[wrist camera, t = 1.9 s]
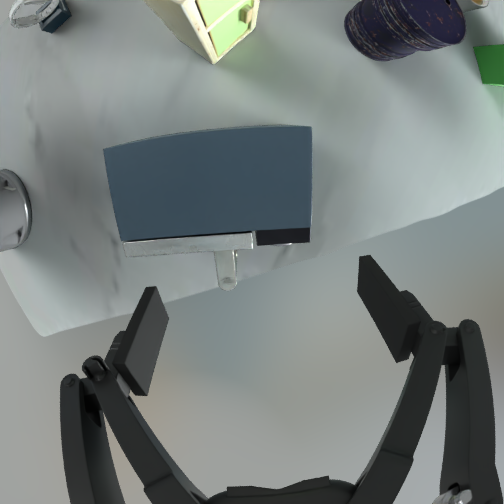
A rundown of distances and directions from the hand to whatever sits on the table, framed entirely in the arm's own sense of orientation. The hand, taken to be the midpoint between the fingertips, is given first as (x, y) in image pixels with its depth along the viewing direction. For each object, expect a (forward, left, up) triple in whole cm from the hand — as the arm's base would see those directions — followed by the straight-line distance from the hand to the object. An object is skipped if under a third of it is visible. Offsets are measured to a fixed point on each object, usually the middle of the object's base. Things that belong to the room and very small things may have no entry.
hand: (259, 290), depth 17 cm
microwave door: (-7, -4, -22) cm, 24 cm away
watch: (-29, +36, -23) cm, 51 cm away
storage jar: (+19, +25, -23) cm, 39 cm away
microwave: (-4, +4, -22) cm, 23 cm away
